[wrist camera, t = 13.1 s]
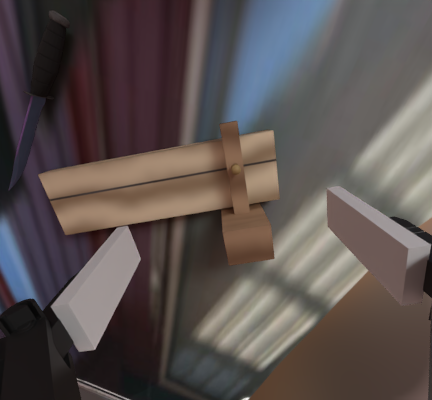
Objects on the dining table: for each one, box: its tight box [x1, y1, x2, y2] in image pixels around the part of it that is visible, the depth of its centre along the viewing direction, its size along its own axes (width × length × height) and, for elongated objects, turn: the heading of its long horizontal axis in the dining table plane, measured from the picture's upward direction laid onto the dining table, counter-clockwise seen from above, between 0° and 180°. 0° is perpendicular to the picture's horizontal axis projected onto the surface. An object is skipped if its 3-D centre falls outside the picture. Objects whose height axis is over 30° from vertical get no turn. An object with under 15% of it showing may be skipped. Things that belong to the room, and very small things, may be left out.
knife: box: [9, 11, 70, 190], centre depth 31 cm, size 24×2×5 cm, turn 152°
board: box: [38, 130, 280, 235], centre depth 35 cm, size 10×34×3 cm, turn 100°
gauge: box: [220, 121, 274, 266], centre depth 32 cm, size 18×6×10 cm, turn 10°
